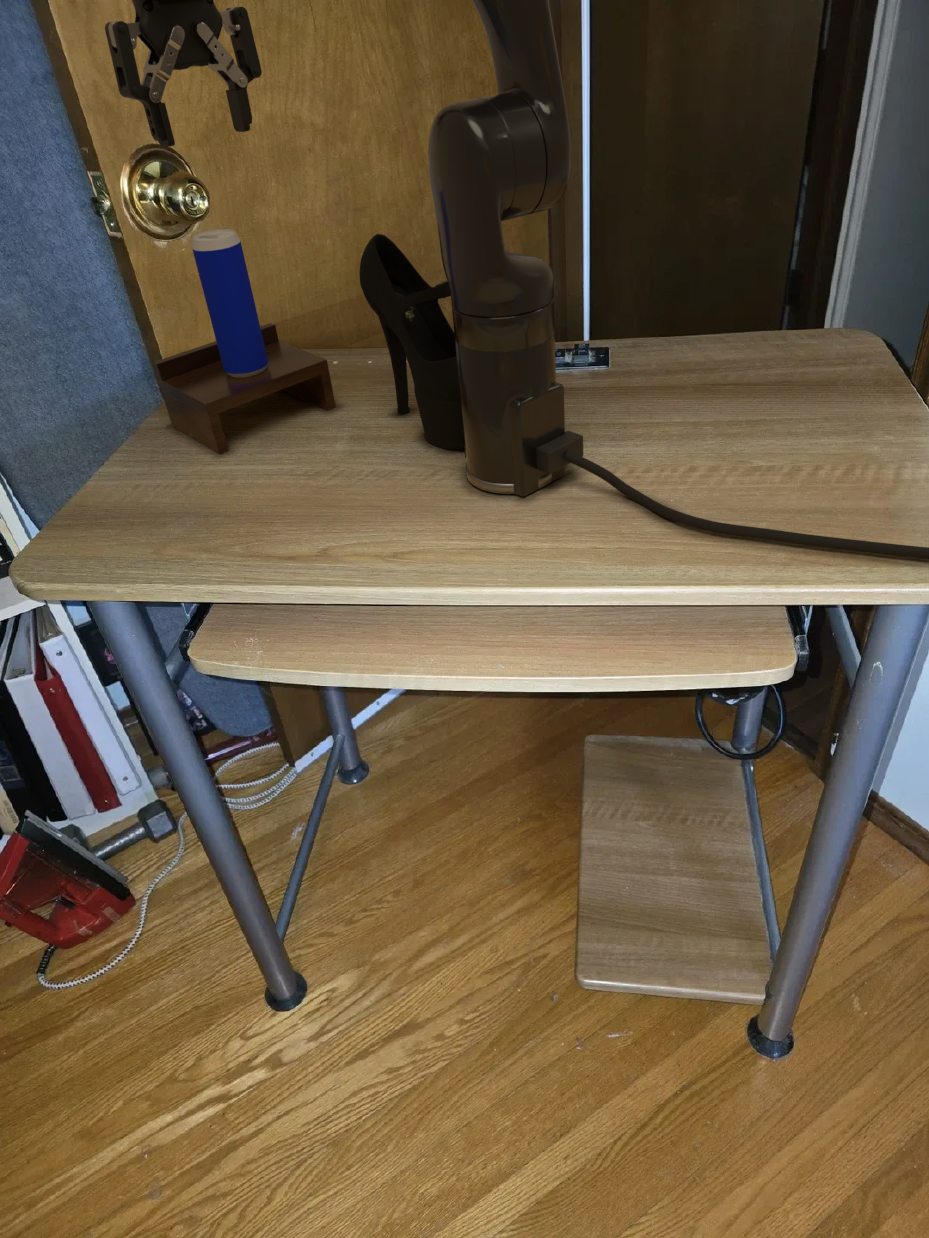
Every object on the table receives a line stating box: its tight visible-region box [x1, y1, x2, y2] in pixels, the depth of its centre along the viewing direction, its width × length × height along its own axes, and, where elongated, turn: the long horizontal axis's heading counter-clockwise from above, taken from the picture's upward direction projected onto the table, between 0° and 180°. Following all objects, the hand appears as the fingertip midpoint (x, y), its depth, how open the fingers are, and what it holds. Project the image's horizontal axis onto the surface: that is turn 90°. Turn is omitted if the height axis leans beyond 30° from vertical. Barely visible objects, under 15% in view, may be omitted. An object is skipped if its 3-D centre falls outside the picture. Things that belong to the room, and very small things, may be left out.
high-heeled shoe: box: [358, 233, 465, 450], centre depth 94 cm, size 8×19×20 cm, turn 39°
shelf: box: [152, 322, 337, 455], centre depth 105 cm, size 12×16×8 cm
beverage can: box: [191, 228, 268, 378], centre depth 98 cm, size 5×5×15 cm
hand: (206, 138), depth 89 cm, fingers open, 8 cm apart
